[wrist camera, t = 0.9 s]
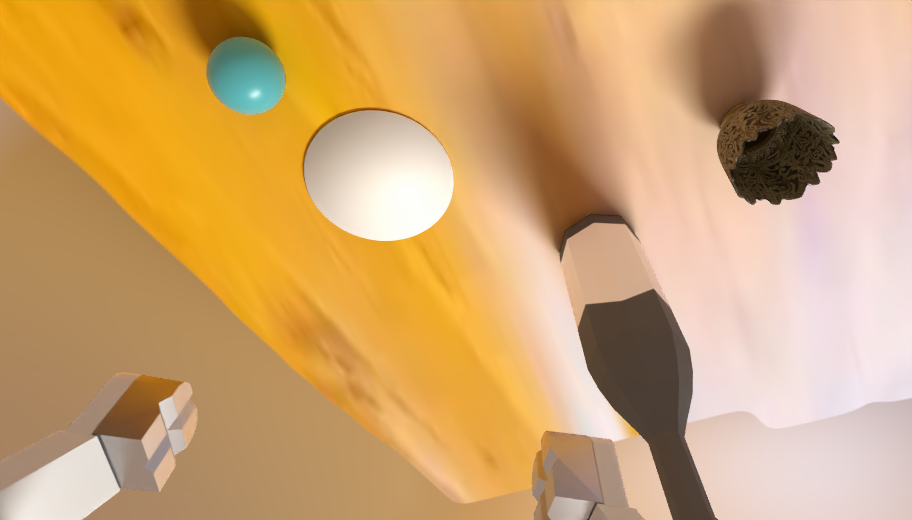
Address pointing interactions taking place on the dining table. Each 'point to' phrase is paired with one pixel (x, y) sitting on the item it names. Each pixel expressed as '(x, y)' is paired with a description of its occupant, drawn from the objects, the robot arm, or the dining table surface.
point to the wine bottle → (635, 349)
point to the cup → (774, 150)
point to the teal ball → (246, 75)
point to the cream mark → (378, 175)
